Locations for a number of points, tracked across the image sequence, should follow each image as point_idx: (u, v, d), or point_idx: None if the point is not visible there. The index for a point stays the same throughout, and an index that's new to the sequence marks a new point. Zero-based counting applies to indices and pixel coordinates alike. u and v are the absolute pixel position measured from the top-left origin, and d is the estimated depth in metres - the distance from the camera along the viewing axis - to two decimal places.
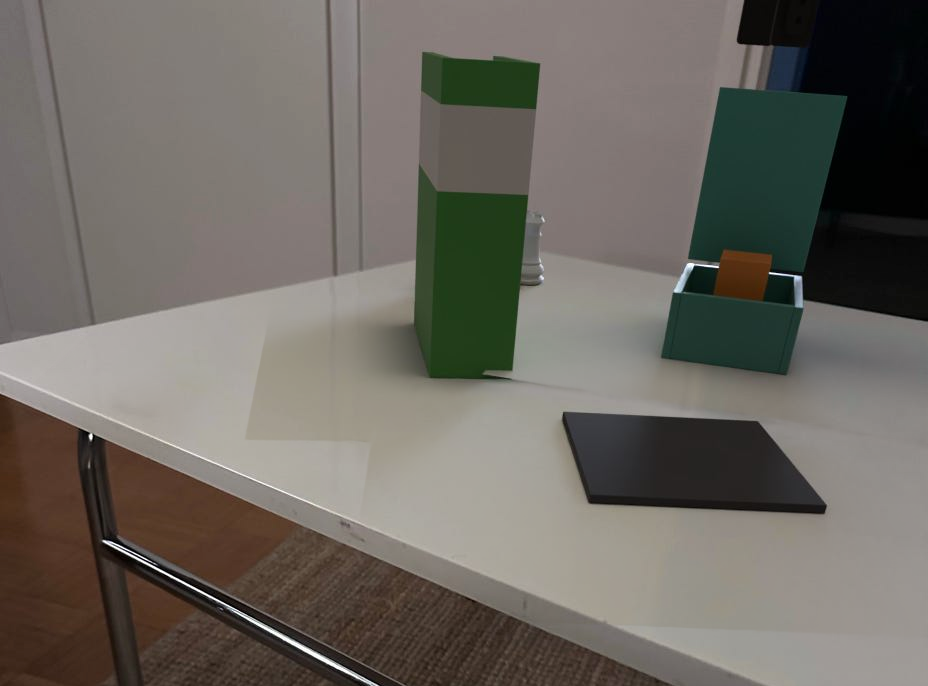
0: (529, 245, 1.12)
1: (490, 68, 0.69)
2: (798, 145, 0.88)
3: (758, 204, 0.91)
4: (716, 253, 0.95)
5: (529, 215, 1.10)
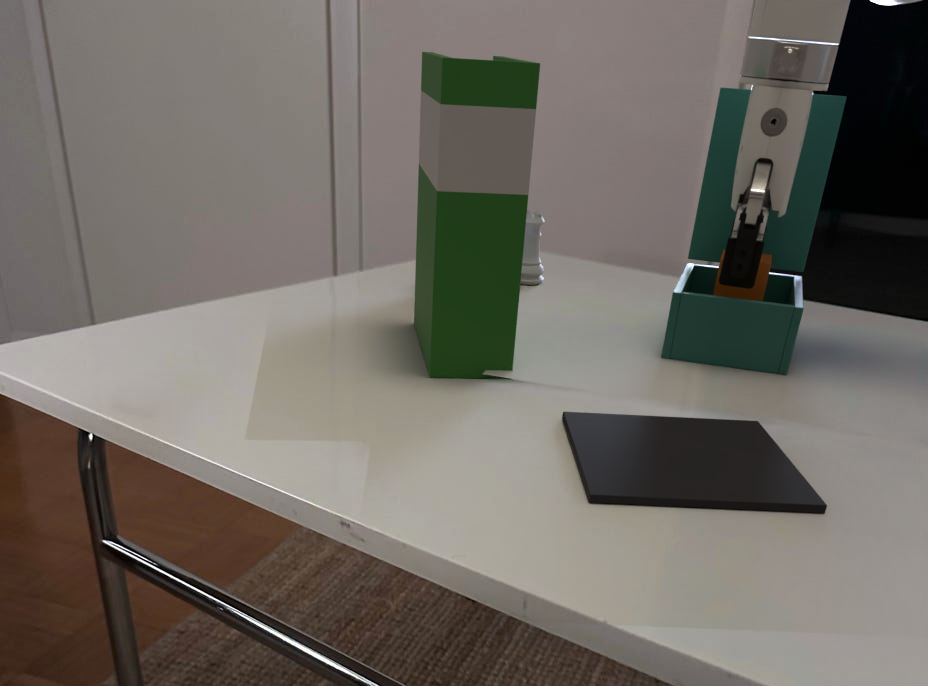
0: (529, 245, 1.12)
1: (489, 68, 0.69)
2: None
3: None
4: (716, 253, 0.95)
5: (529, 215, 1.10)
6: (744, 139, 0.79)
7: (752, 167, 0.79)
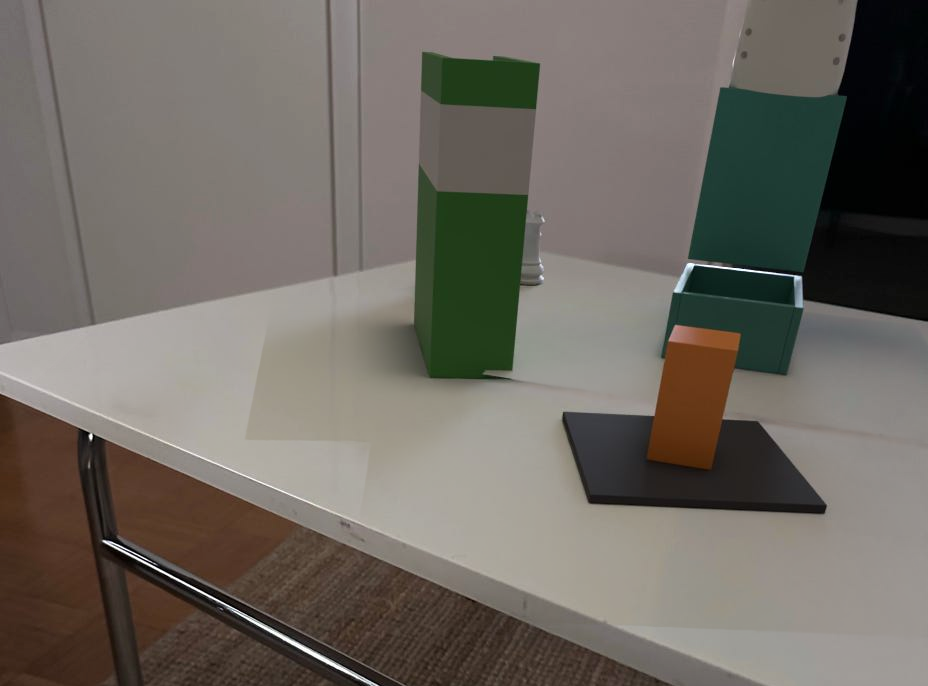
0: (529, 245, 1.12)
1: (489, 68, 0.69)
2: (798, 145, 0.88)
3: (758, 204, 0.92)
4: (716, 253, 0.95)
5: (529, 215, 1.10)
6: (844, 28, 0.83)
7: (847, 54, 0.85)
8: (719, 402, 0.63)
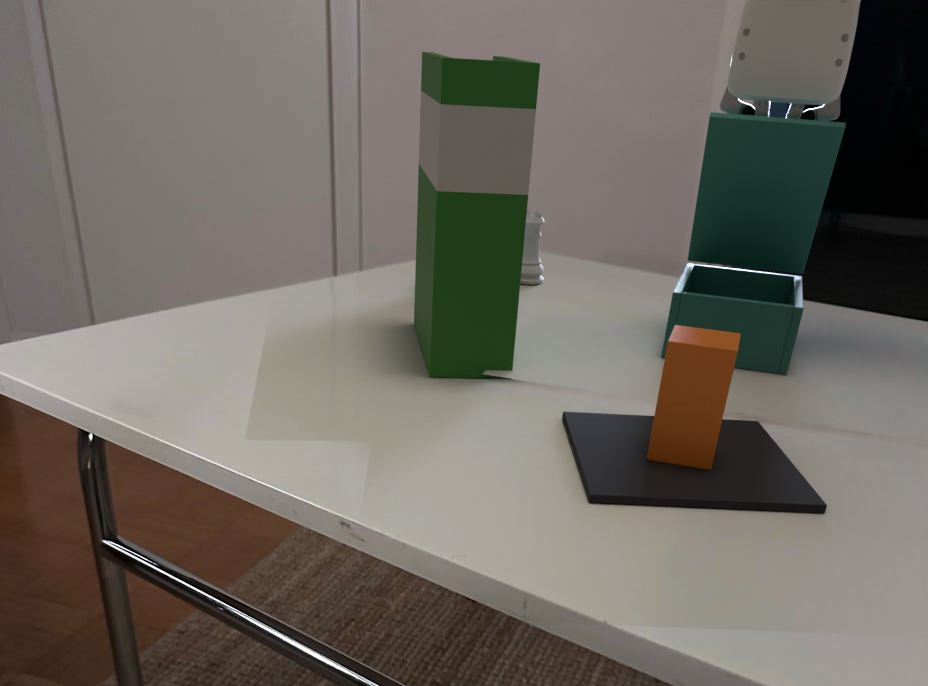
0: (529, 245, 1.12)
1: (489, 68, 0.69)
2: (794, 169, 0.84)
3: (755, 218, 0.89)
4: (715, 257, 0.94)
5: (529, 215, 1.10)
6: (847, 28, 0.79)
7: (850, 55, 0.81)
8: (719, 402, 0.63)
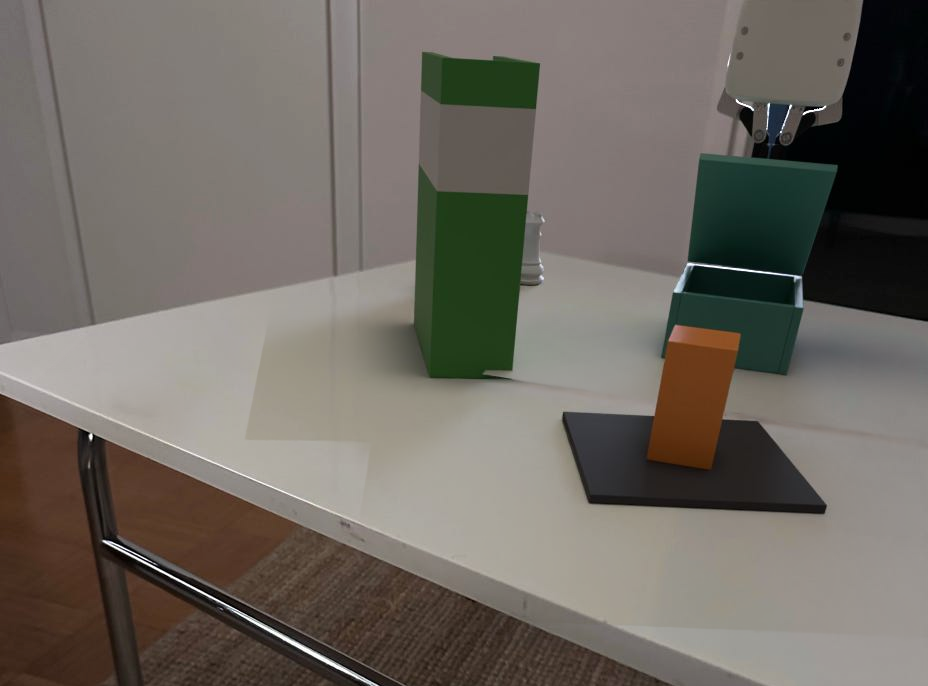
0: (529, 245, 1.12)
1: (489, 68, 0.69)
2: (788, 200, 0.83)
3: (751, 234, 0.89)
4: (715, 260, 0.94)
5: (529, 215, 1.10)
6: (850, 26, 0.76)
7: (852, 55, 0.77)
8: (719, 402, 0.63)
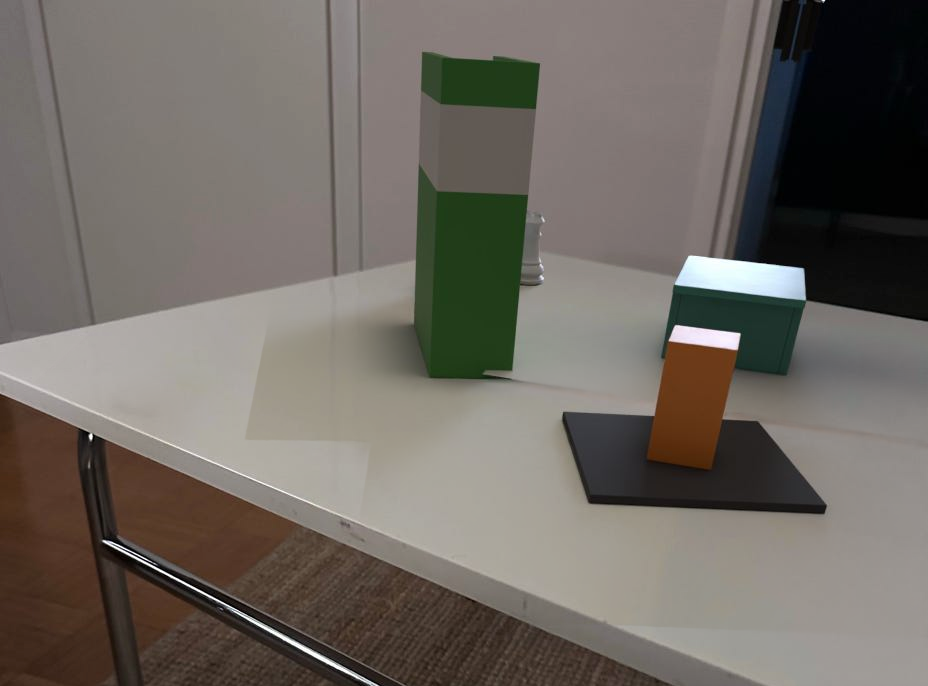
0: (529, 245, 1.12)
1: (489, 68, 0.69)
2: None
3: None
4: None
5: (529, 215, 1.10)
6: None
7: None
8: (719, 402, 0.63)
